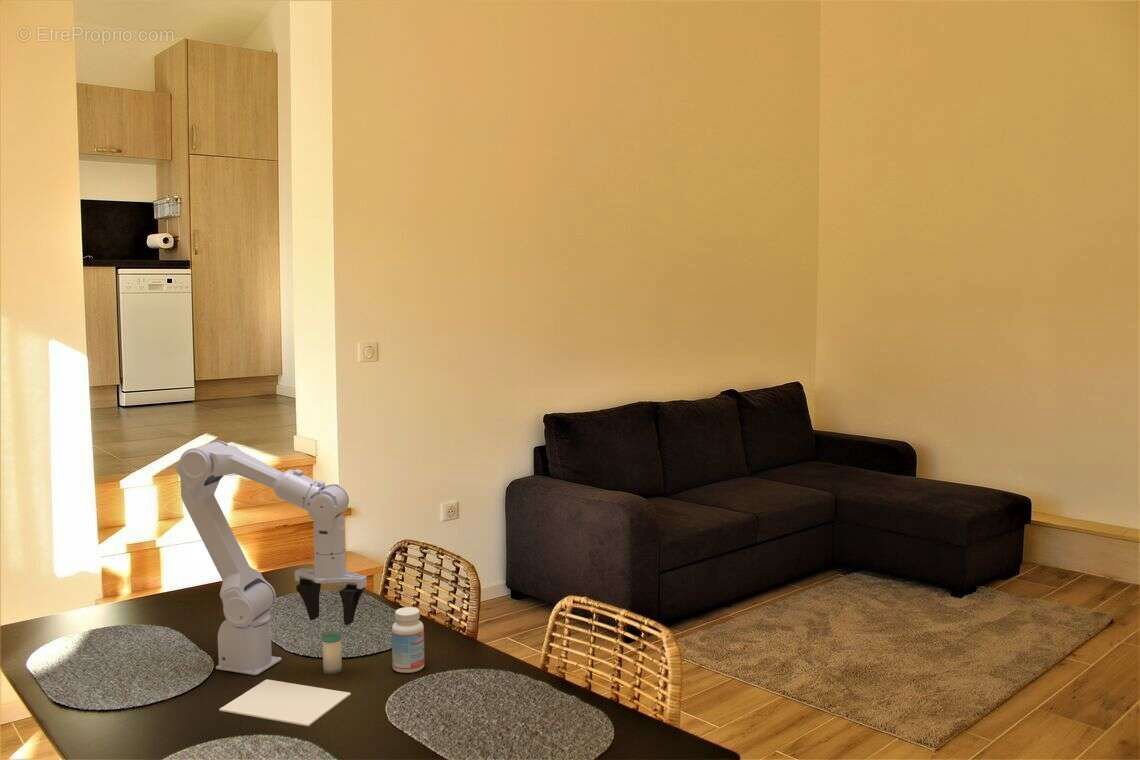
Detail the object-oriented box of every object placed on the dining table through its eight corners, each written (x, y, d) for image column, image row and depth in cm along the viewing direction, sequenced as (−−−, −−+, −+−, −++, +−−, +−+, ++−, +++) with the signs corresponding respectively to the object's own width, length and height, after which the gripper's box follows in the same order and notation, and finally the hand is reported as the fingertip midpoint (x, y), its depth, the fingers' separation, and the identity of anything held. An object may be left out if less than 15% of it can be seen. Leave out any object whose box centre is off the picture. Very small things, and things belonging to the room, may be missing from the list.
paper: (219, 710, 164) (219, 709, 164) (266, 680, 176) (266, 679, 176) (308, 726, 158) (308, 724, 158) (350, 694, 170) (350, 692, 170)
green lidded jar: (319, 673, 179) (318, 636, 179) (329, 666, 183) (328, 629, 182) (335, 675, 178) (334, 638, 178) (345, 668, 182) (344, 632, 181)
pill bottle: (418, 675, 178) (416, 617, 177) (387, 672, 180) (386, 615, 178) (429, 662, 184) (428, 606, 183) (399, 660, 185) (398, 604, 184)
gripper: (284, 552, 177) (286, 623, 178) (351, 560, 172) (353, 632, 173) (306, 543, 183) (308, 611, 185) (372, 550, 179) (373, 619, 180)
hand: (331, 620), depth 179 cm, fingers open, 7 cm apart
